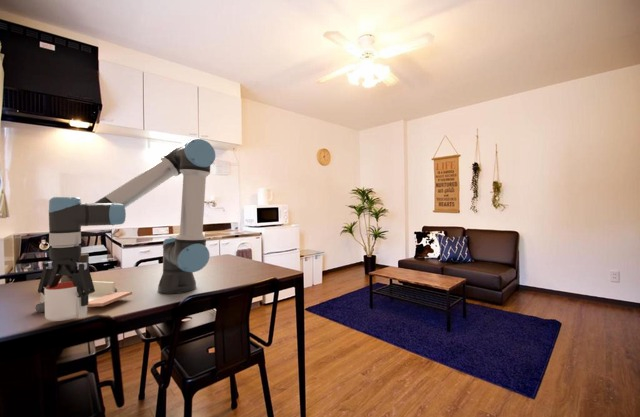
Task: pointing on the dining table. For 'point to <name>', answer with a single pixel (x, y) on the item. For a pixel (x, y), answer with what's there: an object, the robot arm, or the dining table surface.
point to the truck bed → (100, 291)
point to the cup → (61, 302)
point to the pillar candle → (82, 259)
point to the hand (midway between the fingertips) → (66, 315)
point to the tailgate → (108, 299)
